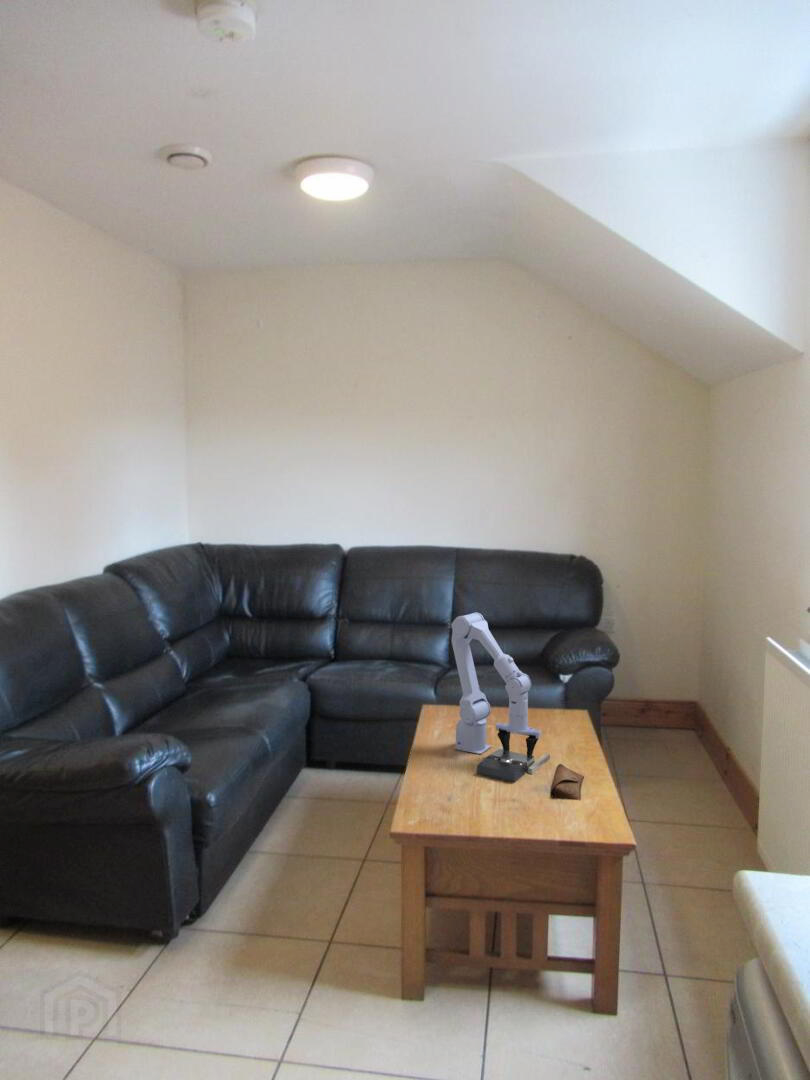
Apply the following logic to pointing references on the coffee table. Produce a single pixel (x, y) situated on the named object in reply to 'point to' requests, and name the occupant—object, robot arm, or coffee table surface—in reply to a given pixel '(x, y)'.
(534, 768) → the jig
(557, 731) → the coffee table surface
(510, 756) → the grey piece
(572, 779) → the sunglasses case
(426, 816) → the coffee table surface
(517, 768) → the fixed leaf
